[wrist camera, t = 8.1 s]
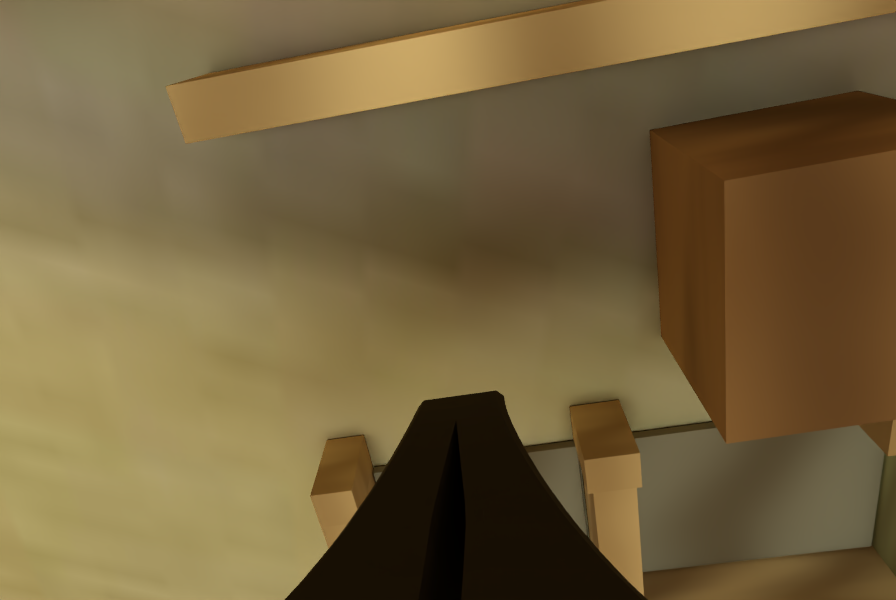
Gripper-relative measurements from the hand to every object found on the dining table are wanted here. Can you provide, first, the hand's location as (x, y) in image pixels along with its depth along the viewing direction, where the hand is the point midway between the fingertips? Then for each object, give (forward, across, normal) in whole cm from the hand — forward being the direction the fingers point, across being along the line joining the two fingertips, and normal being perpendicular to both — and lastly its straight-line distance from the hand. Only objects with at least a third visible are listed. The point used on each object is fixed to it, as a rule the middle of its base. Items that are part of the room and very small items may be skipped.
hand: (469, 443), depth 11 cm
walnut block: (+8, -8, 0) cm, 11 cm away
